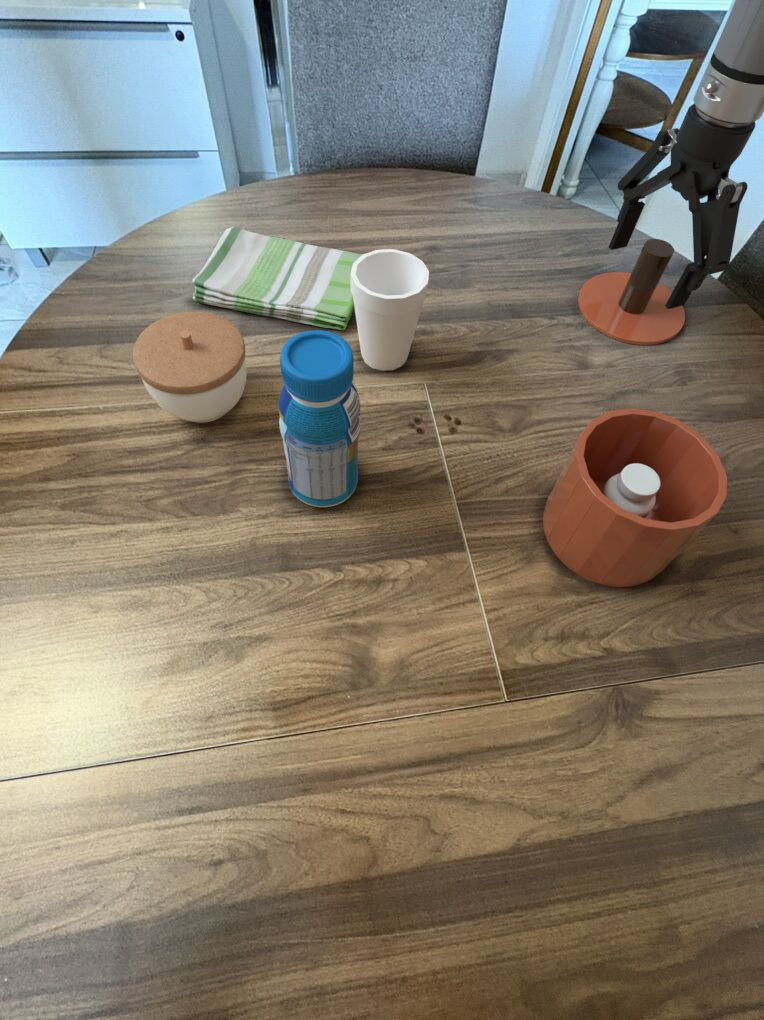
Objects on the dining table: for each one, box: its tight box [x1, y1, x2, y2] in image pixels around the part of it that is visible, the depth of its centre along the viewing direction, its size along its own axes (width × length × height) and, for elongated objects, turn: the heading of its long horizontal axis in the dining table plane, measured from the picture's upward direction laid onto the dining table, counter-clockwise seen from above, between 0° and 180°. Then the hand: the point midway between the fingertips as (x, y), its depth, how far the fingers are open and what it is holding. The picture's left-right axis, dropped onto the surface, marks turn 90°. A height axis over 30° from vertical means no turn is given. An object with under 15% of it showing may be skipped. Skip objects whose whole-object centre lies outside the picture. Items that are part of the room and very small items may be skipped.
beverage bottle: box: [277, 329, 362, 508], centre depth 64 cm, size 8×8×20 cm
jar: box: [542, 407, 728, 588], centre depth 65 cm, size 15×15×12 cm
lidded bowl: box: [132, 311, 248, 424], centre depth 74 cm, size 13×13×11 cm
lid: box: [577, 238, 686, 346], centre depth 87 cm, size 16×16×11 cm
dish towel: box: [191, 226, 363, 331], centre depth 90 cm, size 17×23×4 cm
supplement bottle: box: [601, 463, 660, 518], centre depth 66 cm, size 5×5×10 cm
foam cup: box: [351, 248, 430, 372], centre depth 79 cm, size 10×9×13 cm
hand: (644, 275), depth 86 cm, fingers open, 13 cm apart
